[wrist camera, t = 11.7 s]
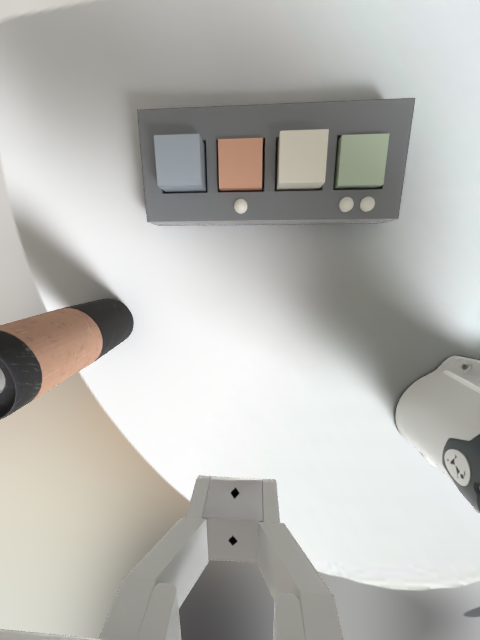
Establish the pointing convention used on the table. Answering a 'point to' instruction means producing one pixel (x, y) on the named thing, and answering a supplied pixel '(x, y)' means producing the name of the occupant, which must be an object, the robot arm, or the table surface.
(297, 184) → the cream key
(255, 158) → the terracotta key
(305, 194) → the keypad
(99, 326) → the travel mug
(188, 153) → the slate key
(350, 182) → the sage key
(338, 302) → the table surface
